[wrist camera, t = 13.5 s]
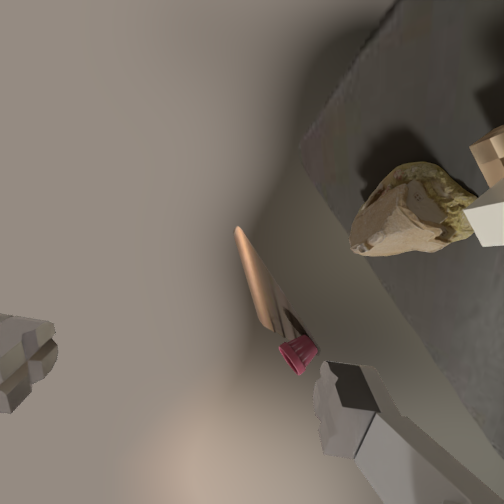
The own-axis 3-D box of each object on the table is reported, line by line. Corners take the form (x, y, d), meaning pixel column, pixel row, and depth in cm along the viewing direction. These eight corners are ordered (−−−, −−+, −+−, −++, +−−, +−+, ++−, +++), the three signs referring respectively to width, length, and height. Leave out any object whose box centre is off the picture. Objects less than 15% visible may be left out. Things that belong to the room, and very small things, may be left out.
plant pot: (295, 324, 122) (273, 341, 119) (313, 338, 110) (289, 357, 107) (307, 346, 127) (287, 363, 124) (326, 362, 114) (303, 382, 111)
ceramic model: (432, 138, 28) (364, 184, 25) (504, 226, 27) (440, 283, 24) (359, 195, 41) (310, 228, 39) (404, 254, 40) (357, 293, 38)
